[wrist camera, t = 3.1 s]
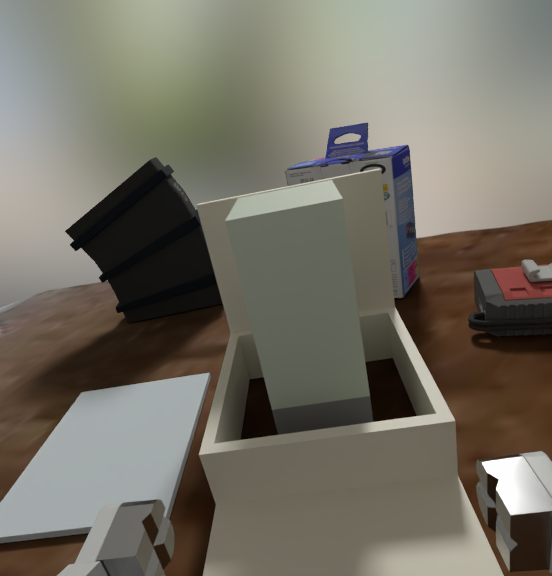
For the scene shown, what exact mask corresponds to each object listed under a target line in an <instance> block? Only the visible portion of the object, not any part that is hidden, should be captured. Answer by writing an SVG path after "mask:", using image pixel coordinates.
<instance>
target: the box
mask: <svg viewBox="0 0 552 576" xmlns="http://www.w3.org/2000/svg"><path fill="white" fill-rule="evenodd" d="M225 223H226V227H227V231H228V235H229V239H230V243H231V247H232V251H233V255H234V259H235V263H236V267H237V271H238V275H239V280H240V284H241V288H242V292H243V296H244V300H245V304H246V308H247V312H248V316H249V320H250V324H251V328H252V332H253V336H254V340H255V344H256V348H257V352H258V356H259V360H260V364H261V368H262V372H263V376H264V380H265V384H266V388H267V392H268V396H269V400H270V404H271V408H272V412H273V417H274V421H275V425H276V429H277V433H278V435H281V434H289V433H296V432H303V431H311V430H318V429H326V428H333V427H340V426H348V425H355V424H362V423H370V422H374V421H373V414H372V407H371V400H370V392H369V385H368V378H367V371H366V363H365V356H364V349H363V342H362V335H361V327H360V320H359V313H358V306H357V298H356V291H355V284H354V277H353V269H352V262H351V255H350V248H349V241H348V233H347V226H346V219H345V212H344V204H343V198H342V197H341V195H340V193H339V191H338V190H337V188H336V186H335V185H334V183H333V181H332V180H328V181H323V182H318V183H313V184H308V185H303V186H298V187H293V188H287V189H282V190H277V191H272V192H267V193H262V194H257V195H252V196H247V197H241V198H238V199H237V201H236V203H235V204H234V206H233V208H232V210H231V211H230V213H229V215H228V217H227V218H226V220H225Z"/></svg>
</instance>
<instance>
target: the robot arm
mask: <svg viewBox="0 0 552 576" xmlns="http://www.w3.org/2000/svg"><path fill="white" fill-rule="evenodd" d="M476 472H477V474H478V476H479V478H480V481H479V482H478V484H477V497H478V501H479V506H480V509H481V512H482V514H483V517H484V519H485V521H486V524H487V526H488V527H489V528H491V529H492V530H493V531H495V532H496V545H497V547H498V549H499V551H500V553H501V555H502V557H503V559H504V561H505V563H506V566H507V568H508V570H509V572H519V571H534V570H549V569H550V571H549V572H551V573H552V462H551V460H550V459H549V458H548V456H547V455H546V454H545V453H543V452H542V451H540V452H532V453H524V454H519V455H518V454H515V455H508V456H500V457H493V458H486V459H478V460H477V462H476ZM164 512H165V506H164V504H163V502H162V500H159V499H156V500H145V501H135V502H124V503H117V504H107V505H105V506H104V507H103V508H101V510H100V511H99V513H98V516H97V518H96V520H95V522H94V524H93V526H92V528H91V530H90V532H89V534H88V536H87V539H86V541H85V543H84V545H83V547H82V549H81V551H80V553H79V555H78V557H77V560H76V562H75V564H69V565H68V566H67V567H66V568H65V569H64V570H63V571H62V572H61V573H60V574H58V575H57V576H165V573H164V571H163V569H164V568H165V567H166V566H167V565H168V563H169V562H170V561H171V559H172V555H173V551H174V538H175V536H174V530H173V526H172V523H171V521H170V520H169V519H167V518H166V517H164Z"/></svg>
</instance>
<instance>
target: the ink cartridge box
mask: <svg viewBox="0 0 552 576" xmlns="http://www.w3.org/2000/svg"><path fill="white" fill-rule="evenodd" d="M347 133H355V134H359V135H361V138H360V140H359V141H355V142H348V143H341V144H335V143H334V141H335V139H336V138H338V137H340V136H342V135H344V134H347ZM367 139H368V123H362V124H357V125H351V126H345V127H339V128H332V129H330V133H329V139H328V145H327V154H326V157H325V158H321V159H314V160H309V161H305V162H302V163H299V164H297V165H294V166H292V167H290V168H288V169H287V170H286V171H285V174H286V179H287V184H288V186H292V185H297V184H302V183H307V182H312V181H317V180H322V179H327V178H333V177H338V176H343V175H348V174H353V173H358V172H363V171H368V170H373V169H379V168H380V169H381V174H382V184H383V193H384V203H385V213H386V223H387V233H388V243H389V253H390V263H391V273H392V282H393V292H394V298H403V297H404V296H405V295H406V293H407V292H408V291H409V290H410V288H411V287H412V286H413V284H414V283H415V282H416V281H417V279H418V278H419V266H418V255H417V242H416V229H415V216H414V202H413V187H412V175H411V165H410V164H411V163H410V150H409V146H408V145H403V146H396V147H389V148H383V149H376V150H370V151H368V143H367Z"/></svg>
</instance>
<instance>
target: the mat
mask: <svg viewBox="0 0 552 576" xmlns="http://www.w3.org/2000/svg"><path fill="white" fill-rule="evenodd" d="M210 379H211V376H210V373H205V374H198V375H192V376H185V377H179V378H172V379H166V380H159V381H153V382H146V383H140V384H133V385H126V386H120V387H113V388H107V389H100V390H94V391H87V392H82V393H81V394H80V395H79V397H78V398H77V399H76V401H75V402H74V403H73V405H72V406H71V408H70V409H69V410H68V412H67V413H66V414H65V416H64V417H63V418H62V420H61V421H60V423H59V424H58V425H57V427H56V428H55V429H54V431H53V432H52V433H51V435H50V436H49V438H48V439H47V440H46V442H45V443H44V444H43V446H42V447H41V448H40V450H39V451H38V453H37V454H36V455H35V457H34V458H33V459H32V461H31V462H30V463H29V465H28V466H27V467H26V469H25V470H24V472H23V473H22V474H21V476H20V477H19V478H18V480H17V481H16V482H15V484H14V485H13V487H12V488H11V489H10V491H9V492H8V493H7V495H6V496H5V497H4V499H3V500H2V502H1V503H0V543H8V542H16V541H25V540H34V539H42V538H51V537H59V536H68V535H76V534H85V533H89V532H90V530H91V528H92V526H93V524H94V522H95V520H96V518H97V516H98V513H99V511H100V510H101V508H103V507H104V506H105V505H107V504H117V503H124V502H135V501H145V500H156V499H159V500H162V502H163V504H164V506H165V512H164V517H166V518H167V519H169V518H170V515H171V512H172V508H173V505H174V501H175V498H176V495H177V491H178V488H179V484H180V481H181V478H182V474H183V471H184V467H185V464H186V461H187V457H188V454H189V450H190V447H191V444H192V440H193V437H194V433H195V430H196V427H197V423H198V420H199V416H200V413H201V410H202V406H203V403H204V399H205V396H206V393H207V389H208V386H209V382H210Z"/></svg>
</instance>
